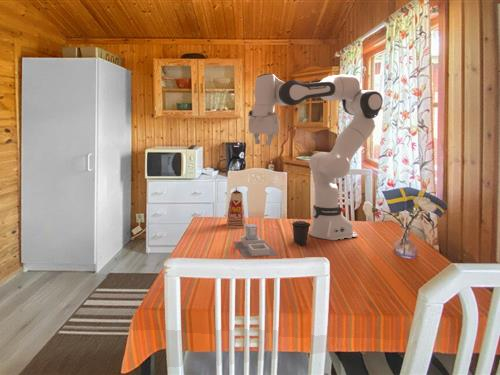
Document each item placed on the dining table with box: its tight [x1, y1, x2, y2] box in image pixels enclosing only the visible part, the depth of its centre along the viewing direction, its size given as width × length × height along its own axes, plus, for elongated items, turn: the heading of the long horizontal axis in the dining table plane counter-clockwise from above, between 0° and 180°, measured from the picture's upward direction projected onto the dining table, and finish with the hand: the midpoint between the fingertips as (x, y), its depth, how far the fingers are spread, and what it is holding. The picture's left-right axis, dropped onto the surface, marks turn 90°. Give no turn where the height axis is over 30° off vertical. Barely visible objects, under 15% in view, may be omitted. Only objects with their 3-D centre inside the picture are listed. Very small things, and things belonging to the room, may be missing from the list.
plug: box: [244, 223, 258, 240], centre depth 170 cm, size 4×5×8 cm
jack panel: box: [233, 235, 279, 258], centre depth 165 cm, size 14×20×4 cm
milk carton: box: [226, 187, 246, 229], centre depth 203 cm, size 9×9×20 cm
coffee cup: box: [291, 220, 311, 247], centre depth 175 cm, size 8×8×10 cm
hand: (262, 144), depth 175 cm, fingers open, 8 cm apart
